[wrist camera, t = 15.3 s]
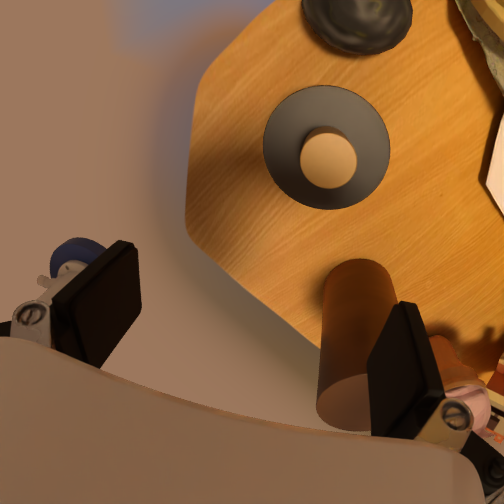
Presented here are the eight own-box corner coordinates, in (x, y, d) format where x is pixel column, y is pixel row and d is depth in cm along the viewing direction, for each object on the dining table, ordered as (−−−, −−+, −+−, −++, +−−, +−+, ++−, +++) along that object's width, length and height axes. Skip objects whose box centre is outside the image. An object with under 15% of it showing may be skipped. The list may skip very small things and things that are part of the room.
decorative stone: (272, -14, 17) (281, 1, 24) (358, 81, 21) (344, 69, 28) (370, -73, 12) (353, -45, 19) (451, 25, 15) (413, 26, 23)
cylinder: (316, 309, 41) (304, 424, 26) (334, 251, 37) (335, 364, 21) (377, 322, 40) (390, 435, 25) (401, 267, 36) (437, 379, 20)
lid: (257, 191, 27) (239, 217, 21) (275, 76, 22) (260, 68, 17) (370, 216, 26) (382, 249, 20) (398, 103, 21) (421, 106, 15)
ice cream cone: (463, 359, 40) (491, 464, 23) (402, 376, 44) (413, 486, 27) (466, 309, 36) (512, 424, 19) (396, 328, 40) (416, 455, 23)
